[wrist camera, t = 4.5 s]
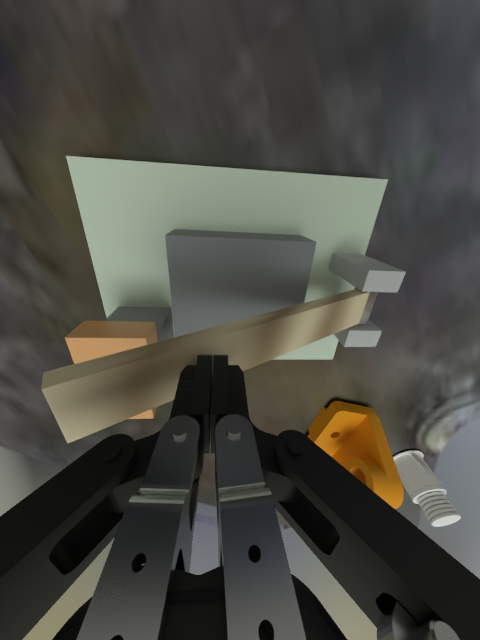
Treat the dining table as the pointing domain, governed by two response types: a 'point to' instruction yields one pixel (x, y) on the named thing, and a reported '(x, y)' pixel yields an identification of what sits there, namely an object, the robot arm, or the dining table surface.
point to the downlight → (425, 488)
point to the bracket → (359, 447)
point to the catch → (110, 342)
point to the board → (214, 205)
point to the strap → (188, 361)
